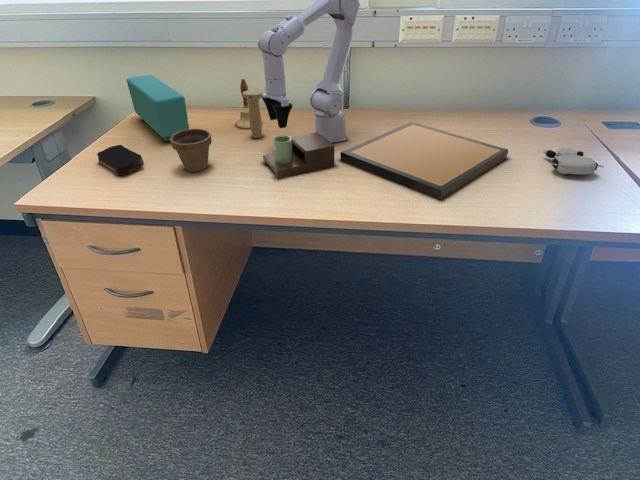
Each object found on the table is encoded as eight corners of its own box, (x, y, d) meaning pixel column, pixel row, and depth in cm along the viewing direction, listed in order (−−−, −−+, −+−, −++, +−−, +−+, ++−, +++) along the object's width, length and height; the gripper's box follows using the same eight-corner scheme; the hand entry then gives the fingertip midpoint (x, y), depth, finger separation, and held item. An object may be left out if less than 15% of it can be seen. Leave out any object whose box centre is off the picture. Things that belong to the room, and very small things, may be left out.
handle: (263, 140, 153) (259, 95, 144) (245, 138, 154) (240, 94, 146) (268, 134, 157) (264, 90, 148) (250, 133, 158) (245, 89, 150)
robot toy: (538, 159, 138) (553, 178, 125) (542, 145, 136) (557, 162, 123) (581, 161, 137) (600, 180, 124) (585, 146, 134) (605, 164, 122)
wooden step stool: (317, 151, 144) (317, 131, 140) (334, 166, 135) (334, 145, 131) (263, 163, 138) (261, 142, 134) (277, 179, 129) (275, 157, 125)
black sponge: (147, 168, 136) (145, 157, 134) (120, 178, 131) (117, 166, 129) (122, 154, 146) (119, 143, 143) (96, 162, 141) (92, 151, 139)
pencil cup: (288, 155, 136) (287, 134, 133) (295, 161, 132) (294, 140, 129) (272, 158, 135) (271, 137, 131) (278, 165, 131) (277, 143, 127)
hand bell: (232, 125, 165) (226, 80, 156) (249, 118, 170) (244, 75, 161) (247, 130, 161) (242, 84, 152) (264, 123, 166) (260, 78, 157)
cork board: (506, 158, 138) (410, 129, 159) (508, 149, 136) (411, 121, 157) (440, 200, 117) (340, 160, 138) (442, 190, 116) (340, 152, 137)
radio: (195, 139, 154) (187, 95, 146) (165, 146, 150) (155, 101, 141) (162, 112, 178) (154, 73, 169) (135, 118, 173) (125, 77, 165)
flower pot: (202, 178, 130) (196, 145, 124) (168, 173, 133) (161, 140, 128) (223, 162, 139) (218, 130, 133) (191, 157, 142) (185, 126, 136)
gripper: (253, 73, 134) (257, 118, 142) (270, 85, 123) (274, 133, 131) (276, 70, 137) (279, 114, 144) (294, 81, 126) (296, 129, 133)
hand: (278, 123), depth 138 cm, fingers open, 7 cm apart
